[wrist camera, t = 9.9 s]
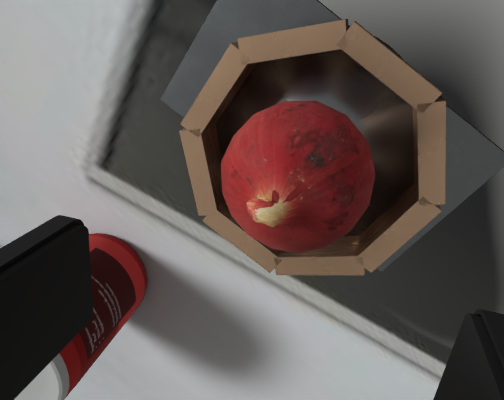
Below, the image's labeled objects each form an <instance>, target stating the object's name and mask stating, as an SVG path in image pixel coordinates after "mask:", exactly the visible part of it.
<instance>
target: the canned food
mask: <svg viewBox="0 0 504 400" xmlns="http://www.w3.org/2000/svg"><path fill="white" fill-rule="evenodd" d="M89 247H90V263H91V279H92V294H93V315H92V318H91V320H90V321H89V323H88V324H87V325H86V326H85V327H84V328H83V329H82V330H81V331H80V332H79V333H78V334H77V335H76V336H75V337H74V338H73V339H72V340H71V341H70V343H69V344H68V345H67V346H66V347H65V348H64V349H63V350H62V351H61V352H60V353H59V354H58V355H57V356H56V357H55V358H54V359H53V360H52V361H51V362H50V363H49V364H48V365H47V366H46V367H45V368H44V369H43V370H42V371H41V372H40V373H39V374H38V375H37V376H36V378H35V379H34V380H33V381H32V382H31V383H30V384H29V385H28V386H27V387H26V388H25V389H24V390H23V391H22V392H21V393H20V394H19V395H18V396H17V397H16V398H15V399H14V400H64V399H65V398H66V397H67V395H68V394H69V393H70V392H71V390H72V389H73V388H74V387H75V386H76V385H77V383H78V382H79V381H80V380H81V378H82V377H83V376H84V375H85V373H86V372H87V371H88V369H89V368H90V367H91V366H92V364H93V363H94V362H95V361H96V359H97V358H98V357H99V356H100V354H101V353H102V352H103V350H104V349H105V348H106V347H107V345H108V344H109V343H110V342H111V340H112V339H113V338H114V337H115V335H116V334H117V333H118V332H119V330H120V329H121V328H122V326H123V325H124V324H125V323H126V321H127V320H128V319H129V318H130V316H131V315H132V314H133V313H134V311H135V310H136V309H137V307H138V306H139V305H140V303H141V301H142V300H143V296H144V293H145V290H146V287H147V276H146V271H145V268H144V265H143V263H142V261H141V260H140V258H139V256H138V255H137V254H136V253H135V251H134V250H133V249H132V248H131V247H130V246H128V245H127V244H126V243H124V242H123V241H121V240H120V239H118V238H115V237H113V236H110V235H106V234H98V233H96V234H89Z"/></svg>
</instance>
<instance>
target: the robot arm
mask: <svg viewBox="0 0 504 400" xmlns="http://www.w3.org/2000/svg"><path fill="white" fill-rule="evenodd" d="M92 315H93V294H92V279H91V263H90V247H89V232H88V229H87V227H85V226H84V224H83V222H82V221H81V220H80V219H75V218H71V217H66V216H61V215H58V216H56V217H54V218H52V219H50V220H49V221H47V222H45V223H44V224H42V225H40V226H38V227H37V228H35V229H33V230H31V231H30V232H28V233H26V234H25V235H23V236H21V237H19V238H18V239H16V240H14V241H12V242H11V243H9V244H7V245H6V246H4V247H2V248H0V400H14V399H15V398H16V397H17V396H18V395H19V394H20V393H21V392H22V391H23V390H24V389H25V388H26V387H27V386H28V385H29V384H30V383H31V382H32V381H33V380H34V379H35V378H36V376H37V375H38V374H39V373H40V372H41V371H42V370H43V369H44V368H45V367H46V366H47V365H48V364H49V363H50V362H51V361H52V360H53V359H54V358H55V357H56V356H57V355H58V354H59V353H60V352H61V351H62V350H63V349H64V348H65V347H66V346H67V345H68V344H69V343H70V341H71V340H72V339H73V338H74V337H75V336H76V335H77V334H78V333H79V332H80V331H81V330H82V329H83V328H84V327H85V326H86V325H87V324H88V323H89V321H90V320H91V318H92ZM433 400H504V314H500V313H495V312H491V311H486V310H481V309H478V310H477V311H476V312H475V313H474V314H469V313H468V314H466V316H465V317H464V320H463V323H462V325H461V328H460V330H459V333H458V336H457V338H456V341H455V344H454V346H453V349H452V352H451V354H450V357H449V360H448V362H447V365H446V368H445V370H444V373H443V376H442V378H441V381H440V383H439V386H438V389H437V391H436V394H435V397H434V399H433Z"/></svg>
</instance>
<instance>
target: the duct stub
mask: <svg viewBox="0 0 504 400" xmlns="http://www.w3.org/2000/svg"><path fill="white" fill-rule="evenodd" d="M441 94H442V92H441V91H439V89H438V88H437V87H436V86H434V85H433V84H432V83H431V82H430V81H429V80H427V79H426V78H425V77H424V76H422V75H421V74H420V73H419V72H418V71H416V70H415V69H414V68H413V67H411V66H410V65H409V64H408V63H406V62H405V61H404V60H403V59H402V58H401V56H400V55H399V54H397V52H395V51H394V50H393V49H392V48H391V47H390V46H389V45H388V44H386V43H385V42H383V41H382V40H380V39H379V38H377V37H375V36H373V35H372V34H371V33H369V32H368V31H367V30H366V29H364V28H363V27H362V26H361V25H360V24H358V23H357V22H356V21H355V22H353V24H352V25H351V26H349V25H348V19H344V20H342V19H340V18H339V17H338V16H337V15H336V14H334V13H333V12H332V11H330V10H329V9H328V8H327V7H325V6H324V5H323V4H322V3H321V2H319V1H318V0H217V1H216V3H215V5H214V6H213V8H212V10H211V12H210V13H209V15H208V17H207V19H206V20H205V22H204V24H203V26H202V27H201V29H200V31H199V33H198V34H197V36H196V38H195V40H194V41H193V43H192V45H191V47H190V48H189V50H188V52H187V54H186V55H185V57H184V59H183V61H182V62H181V64H180V66H179V68H178V69H177V71H176V73H175V75H174V76H173V78H172V80H171V82H170V83H169V85H168V87H167V89H166V90H165V92H164V94H163V96H162V97H161V100H162V101H163V102H164V103H166V104H167V105H168V106H170V107H171V108H172V109H173V110H175V111H176V112H177V113H178V114H180V115H181V116H182V117H184V119H183V121H182V123H181V125H182V126H183V127H185V128H184V129H182V130H181V131H179V132H180V136H181V140H182V145H183V149H184V153H185V158H186V162H187V167H188V171H189V175H190V180H191V184H192V188H193V193H194V197H195V201H196V206H197V210H198V214H199V216H200V215H207V216H206V217H205V218H204V220H203V222H204V223H206V224H207V225H208V226H210V227H211V228H212V229H213V230H215V231H216V232H217V233H219V234H220V235H221V236H223V237H224V238H225V239H226V240H228V241H229V242H230V243H232V244H233V245H234V246H236V247H237V248H238V249H239V250H241V251H242V252H243V253H245V254H246V255H247V256H249V257H250V258H251V259H253V260H254V261H255V262H256V263H258V264H259V265H260V266H262V267H263V268H264V269H266V270H267V271H268V272H269V273H270V272H271V271H272V270H273V269H274V268H275V270H276V275H364V274H365V268H366V269H367V270H368V271H370V272H373V271H374V270H375V269H376V268H377V269H378V270H380V271H381V272H382V271H383V270H384V269H385V268H386V267H388V266H389V265H390V264H391V263H392V262H393V261H395V259H397V258H398V257H399V256H400V255H402V254H403V253H404V252H405V251H406V250H407V249H408V248H410V247H411V246H412V245H413V244H414V243H415V242H417V241H418V240H419V239H420V238H421V237H422V236H423V235H425V234H426V233H427V232H428V231H429V230H431V229H432V228H433V227H434V226H435V225H436V224H438V223H439V222H440V221H441V220H442V219H443V218H445V217H446V216H447V215H448V214H449V213H450V212H451V211H453V210H454V209H455V208H456V207H457V206H458V205H460V204H461V203H462V202H463V201H464V200H465V199H467V198H468V197H469V196H470V195H471V194H472V193H474V192H475V191H476V190H477V189H478V188H479V187H481V185H483V184H484V183H485V182H486V181H487V180H489V179H490V178H491V177H492V176H493V175H494V174H496V173H497V172H498V171H499V170H500V169H501V168H503V167H504V151H503V150H502V149H501V148H499V147H498V146H497V145H496V144H494V143H493V142H492V141H491V140H490V139H488V138H487V137H486V136H485V135H483V134H482V133H481V132H480V131H478V130H477V129H476V128H475V127H474V126H472V125H471V124H470V123H468V122H467V121H466V120H465V119H464V118H462V117H461V116H460V115H459V114H457V113H456V112H455V111H454V110H452V109H451V108H450V107H449V106H448V105H446V101H445V99H443V97H442V96H441ZM312 100H316V101H318V102H320V103H322V104H324V105H327V106H329V107H331V108H333V109H335V110H337V111H339V112H341V113H343V114H346V115H347V116H348V117H349V119H350V120H351V121H352V122H353V124H354V125H355V126H356V127H357V128H358V130H359V131H360V132H361V133H362V135H363V136H364V137H365V138H366V140H367V141H368V142H369V146H370V151H371V156H372V160H373V165H374V169H375V174H376V175H375V180H374V185H373V190H372V195H371V199H370V204H369V206H368V208H367V209H366V211H365V212H364V213H363V215H362V216H361V218H360V219H359V220H358V222H357V223H356V224H355V226H354V227H353V229H352V230H351V231H350V232H348V233H347V234H345V235H344V236H342V237H341V238H339V239H338V240H336V241H335V242H333V243H332V244H330V245H329V246H327V247H326V248H322V249H317V250H312V251H308V252H303V253H295V252H289V251H283V250H277V249H272V248H270V247H268V246H267V245H265V244H263V243H261V242H259V241H258V240H256V239H254V238H252V237H250V236H249V235H248V234H247V233H246V232H245V231H244V230H243V229H242V227H241V226H240V225H239V224H238V223H237V222H236V220H235V219H234V218H233V217H232V215H231V213H230V210H229V208H228V206H227V203H226V201H225V198H224V196H223V193H222V178H221V161H222V159H223V157H224V155H225V153H226V151H227V148H228V146H229V144H230V142H231V140H232V138H233V136H234V135H235V134H236V132H237V131H238V130H239V129H240V128H241V127H242V126H243V125H244V124H245V123H246V122H247V121H248V120H249V119H250V118H251V117H252V115H254V114H256V113H258V112H260V111H262V110H264V109H267V108H269V107H272V106H274V105H276V104H279V103H281V102H284V101H312Z"/></svg>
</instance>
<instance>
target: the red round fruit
mask: <svg viewBox="0 0 504 400" xmlns="http://www.w3.org/2000/svg"><path fill="white" fill-rule="evenodd" d="M375 175H376V174H375V169H374V165H373V160H372V156H371V151H370V146H369V142H368V141H367V140H366V138H365V137H364V136H363V135H362V133H361V132H360V131H359V130H358V128H357V127H356V126H355V125H354V124H353V122H352V121H351V120H350V119H349V117H348V116H347V115H346V114H343V113H341V112H339V111H337V110H335V109H333V108H331V107H329V106H327V105H324V104H322V103H320V102H318V101H316V100H312V101H284V102H281V103H279V104H276V105H274V106H272V107H269V108H267V109H264V110H262V111H260V112H258V113H256V114H254V115H252V117H251V118H250V119H249V120H248V121H247V122H246V123H245V124H244V125H243V126H242V127H241V128H240V129H239V130H238V131H237V132H236V134H235V135H234V136H233V138H232V140H231V142H230V144H229V146H228V148H227V151H226V153H225V155H224V157H223V159H222V161H221V178H222V193H223V196H224V198H225V201H226V203H227V206H228V208H229V210H230V213H231V215H232V217H233V218H234V219H235V220H236V222H237V223H238V224H239V225H240V226H241V227H242V229H243V230H244V231H245V232H246V233H247V234H248V235H249V236H250V237H252V238H254V239H256V240H258V241H259V242H261V243H263V244H265V245H267V246H268V247H270V248H272V249H277V250H283V251H289V252H295V253H303V252H308V251H312V250H317V249H322V248H326V247H327V246H329V245H330V244H332V243H333V242H335V241H336V240H338V239H339V238H341V237H342V236H344V235H345V234H347V233H348V232H350V231H351V230H352V229H353V227H354V226H355V224H356V223H357V222H358V220H359V219H360V218H361V216H362V215H363V213H364V212H365V211H366V209H367V208H368V206H369V204H370V199H371V195H372V190H373V185H374V180H375Z"/></svg>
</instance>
